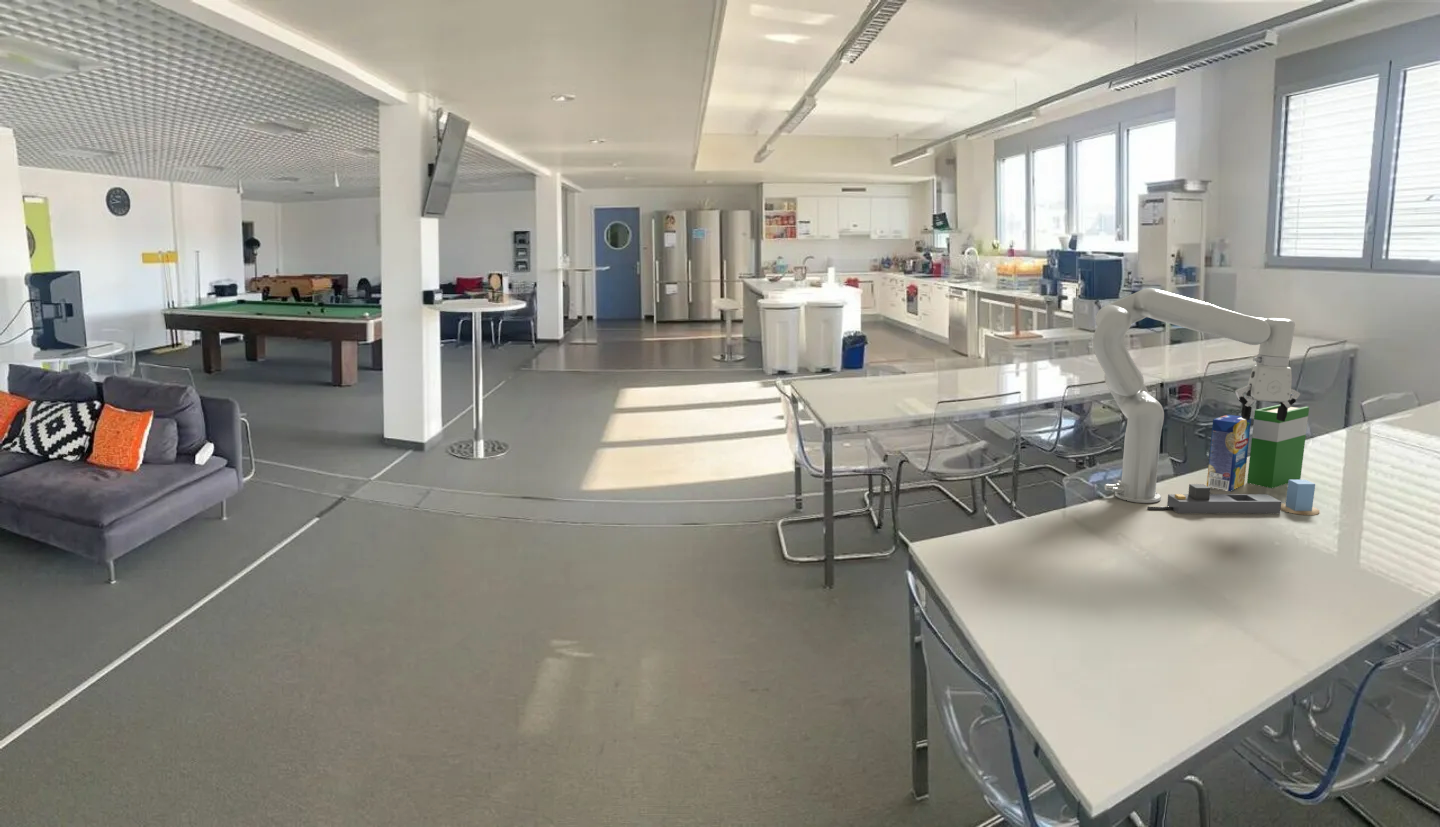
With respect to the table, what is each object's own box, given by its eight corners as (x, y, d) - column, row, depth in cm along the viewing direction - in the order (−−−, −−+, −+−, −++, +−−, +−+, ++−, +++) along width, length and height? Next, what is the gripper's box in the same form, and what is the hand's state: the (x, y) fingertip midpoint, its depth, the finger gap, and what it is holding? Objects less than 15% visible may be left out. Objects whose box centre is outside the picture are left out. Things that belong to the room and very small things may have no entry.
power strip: (1153, 513, 237) (1155, 489, 235) (1142, 506, 244) (1144, 482, 242) (1280, 513, 234) (1282, 489, 233) (1265, 505, 241) (1268, 482, 239)
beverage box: (1244, 484, 262) (1251, 417, 257) (1229, 491, 255) (1237, 422, 251) (1220, 480, 267) (1227, 414, 263) (1206, 487, 260) (1212, 419, 256)
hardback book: (1275, 474, 272) (1283, 403, 268) (1300, 479, 266) (1309, 407, 261) (1247, 482, 264) (1254, 410, 259) (1271, 488, 257) (1280, 413, 253)
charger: (1295, 510, 235) (1298, 484, 233) (1285, 505, 239) (1288, 479, 238) (1311, 510, 234) (1315, 484, 233) (1301, 505, 239) (1305, 479, 237)
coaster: (1290, 515, 232) (1290, 513, 232) (1269, 504, 242) (1270, 503, 242) (1327, 515, 232) (1327, 513, 232) (1305, 504, 241) (1305, 503, 241)
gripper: (1248, 362, 232) (1238, 421, 236) (1312, 364, 230) (1302, 423, 234) (1234, 358, 239) (1225, 415, 243) (1296, 360, 238) (1286, 418, 241)
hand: (1262, 419), depth 238 cm, fingers open, 9 cm apart
